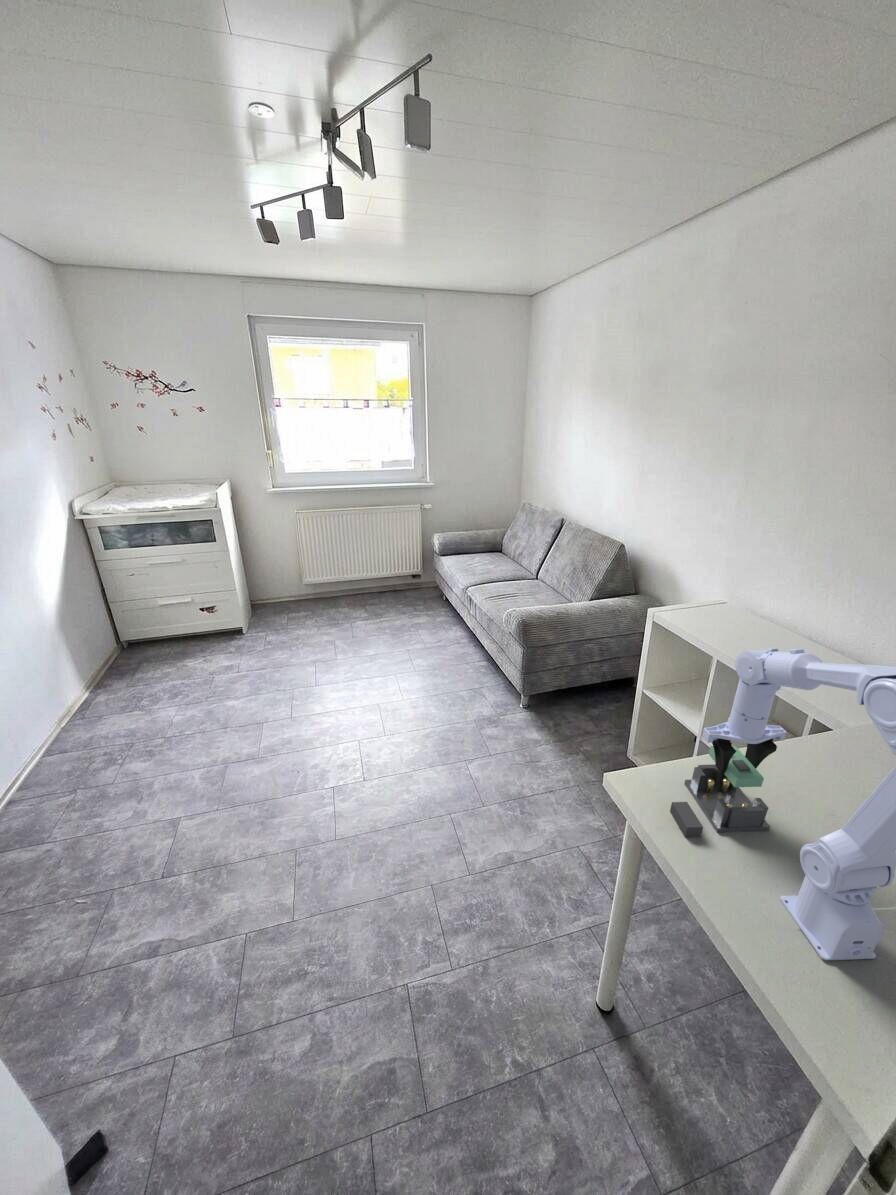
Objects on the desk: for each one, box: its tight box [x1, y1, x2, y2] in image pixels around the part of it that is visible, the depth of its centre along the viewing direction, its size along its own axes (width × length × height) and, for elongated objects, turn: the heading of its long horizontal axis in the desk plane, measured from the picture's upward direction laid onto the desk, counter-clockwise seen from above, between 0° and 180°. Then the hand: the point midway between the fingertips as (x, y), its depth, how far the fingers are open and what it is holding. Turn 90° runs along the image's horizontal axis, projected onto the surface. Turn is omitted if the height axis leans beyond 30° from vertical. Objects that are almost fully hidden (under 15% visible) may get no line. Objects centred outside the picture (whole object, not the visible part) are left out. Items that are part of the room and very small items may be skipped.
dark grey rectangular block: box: [669, 801, 704, 838], centre depth 90 cm, size 6×3×2 cm, turn 2°
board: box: [708, 745, 765, 788], centre depth 91 cm, size 5×9×3 cm, turn 1°
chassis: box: [684, 763, 771, 833], centre depth 94 cm, size 10×12×5 cm
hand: (734, 769), depth 91 cm, fingers closed on board, 5 cm apart
